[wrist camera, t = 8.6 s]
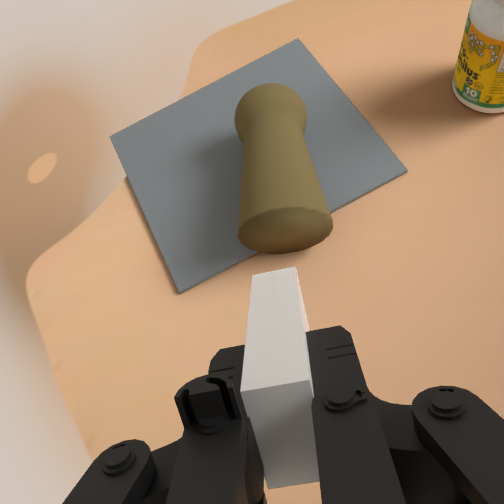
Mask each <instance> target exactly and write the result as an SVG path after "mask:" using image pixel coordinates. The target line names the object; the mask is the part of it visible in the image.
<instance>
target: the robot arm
mask: <svg viewBox="0 0 504 504" xmlns="http://www.w3.org/2000/svg"><path fill="white" fill-rule="evenodd" d="M208 372H209V374H208V375H205V376H201V377H198V378H195V379H193V380H191V381H190V382H188V383H186V384H185V385H184V386H183V387H181V388H180V389H179V390H178V392H177V393H176V395H175V397H174V399H175V402H176V405H177V408H178V411H179V414H180V417H181V420H182V422H183V425H184V432H183V436H182V438H180V439H179V440H177V441H175V442H173V443H171V444H169V445H166V446H164V447H162V448H159V449H157V450H154V451H152V452H151V451H150V448H149V446H148V445H147V444H146V443H145V442H144V441H140V440H136V439H134V440H126V441H122V442H120V443H117V444H115V445H112V446H111V447H109V448H108V449H106V450H105V451H103V452H102V453H101V454H100V455H99V456H98V457H97V458H96V459H95V460H94V461H93V463H92V464H91V466H90V467H89V468H88V470H87V471H86V472H85V474H84V475H83V476H82V478H81V479H80V480H79V482H78V483H77V484H76V486H75V487H74V489H73V490H72V491H71V493H70V494H69V495H68V497H67V498H66V499H65V501H64V502H63V504H267V500H266V497H265V494H264V490H263V488H264V476H265V480H266V483H267V487H268V489H272V488H279V487H286V486H292V485H299V484H306V483H312V482H319V481H320V489H321V498H322V504H504V419H502V418H501V417H500V416H499V415H498V414H497V413H496V412H495V411H493V410H492V409H491V408H490V407H489V406H488V405H487V404H486V403H484V402H483V401H482V400H481V399H480V398H479V397H478V396H476V395H475V394H473V393H471V392H470V391H468V390H466V389H462V388H458V387H455V386H438V387H432V388H428V389H426V390H424V391H422V392H420V393H419V394H418V395H417V396H416V397H415V398H414V400H413V402H412V405H400V404H393V403H388V402H385V401H382V400H380V399H378V398H377V397H375V396H374V395H373V394H372V393H371V392H370V391H369V389H368V388H367V385H366V382H365V379H364V375H363V372H362V369H361V366H360V362H359V359H358V356H357V353H356V350H355V346H354V343H353V340H352V337H351V333H349V332H348V331H347V330H346V329H344V328H343V327H342V326H335V327H330V328H324V329H319V330H313V331H310V330H309V325H308V321H307V316H306V312H305V307H304V303H303V298H302V294H301V289H300V285H299V280H298V276H297V271H296V267H290V268H285V269H280V270H275V271H270V272H265V273H260V274H255V275H252V285H251V295H250V304H249V314H248V323H247V333H246V342H245V345H240V346H235V347H229V348H224V349H220V350H219V351H218V352H217V354H216V355H215V356H214V357H213V358H212V360H211V362H210V367H209V371H208Z"/></svg>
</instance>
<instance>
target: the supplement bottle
mask: <svg viewBox="0 0 504 504" xmlns="http://www.w3.org/2000/svg"><path fill="white" fill-rule="evenodd" d="M452 85H453V91H454V93H455V95H456V97H457V98H458V99H459V101H461V102H462V103H463V104H465V105H466V106H468V107H469V108H471V109H473V110H476V111H479V112H484V113H500V112H504V0H472V3H471V6H470V9H469V14H468V18H467V22H466V26H465V30H464V35H463V39H462V43H461V47H460V51H459V55H458V60H457V64H456V68H455V72H454V76H453V81H452Z"/></svg>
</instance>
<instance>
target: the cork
mask: <svg viewBox="0 0 504 504" xmlns="http://www.w3.org/2000/svg"><path fill="white" fill-rule="evenodd" d="M234 123H235V128H236V131H237V134H238V136H239V139H240V140H241V141H242V142H243V143H244V147H243V162H242V178H241V193H240V208H239V223H238V238H239V240H240V242H241V244H243V245H244V246H245V247H247V248H248V249H251V250H254V251H257V252H262V253H270V254H277V253H290V252H296V251H300V250H303V249H306V248H310V247H312V246H314V245H316V244H318V243H320V242H322V241H323V240H324V239H325V238H326V237H327V236H329V235H330V233H331V231H332V229H333V221H332V218H331V215H330V212H329V209H328V206H327V203H326V200H325V197H324V194H323V192H322V189H321V186H320V183H319V180H318V177H317V174H316V171H315V168H314V165H313V162H312V159H311V157H310V154H309V151H308V148H307V145H306V142H305V139H304V136H303V134H304V132H305V129H306V125H307V114H306V108H305V104H304V102H303V100H302V99H301V97H300V96H299V94H298V93H296V92H295V91H294V90H292V89H291V88H289V87H288V86H285V85H282V84H279V83H267V84H262V85H258V86H256V87H254V88H252V89H250V90H249V91H248V92H247V93H246V94H244V95H243V97H242V98H241V99H240V101H239V103H238V104H237V106H236V110H235V117H234Z"/></svg>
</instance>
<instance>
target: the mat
mask: <svg viewBox="0 0 504 504" xmlns="http://www.w3.org/2000/svg"><path fill="white" fill-rule="evenodd" d="M267 83H279V84H282V85H285V86H288V87H289V88H291V89H292V90H294V91H295V92H296V93H298V94H299V96H300V97H301V99H302V100H303V102H304V104H305V108H306V114H307V125H306V129H305V132H304V134H303V136H304V139H305V142H306V145H307V148H308V151H309V154H310V157H311V159H312V162H313V165H314V168H315V171H316V174H317V177H318V180H319V183H320V186H321V189H322V192H323V194H324V197H325V200H326V203H327V206H328V209H329V212H330V213H332V212H334V211H336V210H338V209H340V208H341V207H343V206H345V205H347V204H349V203H351V202H353V201H354V200H356V199H358V198H360V197H362V196H364V195H366V194H367V193H369V192H371V191H373V190H375V189H377V188H379V187H380V186H382V185H384V184H386V183H388V182H390V181H392V180H394V179H395V178H397V177H399V176H401V175H403V174H405V173H407V169H406V167H405V166H404V165H403V164H402V163H401V161H400V160H399V159H398V158H397V157H396V155H395V154H394V153H393V152H392V151H391V149H390V148H389V147H388V146H387V145H386V143H385V142H384V141H383V140H382V139H381V137H380V136H379V135H378V134H377V133H376V131H375V130H374V129H373V128H372V127H371V125H370V124H369V123H368V122H367V121H366V119H365V118H364V117H363V116H362V114H361V113H360V112H359V111H358V110H357V108H356V107H355V106H354V105H353V104H352V102H351V101H350V100H349V99H348V98H347V96H346V95H345V94H344V93H343V92H342V90H341V89H340V88H339V87H338V86H337V84H336V83H335V82H334V81H333V80H332V78H331V77H330V76H329V75H328V74H327V72H326V71H325V70H324V69H323V68H322V66H321V65H320V64H319V63H318V62H317V60H316V59H315V58H314V57H313V55H312V54H311V53H310V52H309V51H308V49H307V48H306V47H305V46H304V45H303V43H302V42H301V41H300V40H299V39H298V38H297V39H295V40H293V41H292V42H290V43H288V44H286V45H284V46H282V47H280V48H278V49H276V50H274V51H272V52H270V53H269V54H267V55H265V56H263V57H261V58H259V59H257V60H255V61H253V62H251V63H249V64H248V65H246V66H244V67H242V68H240V69H238V70H236V71H234V72H232V73H230V74H228V75H226V76H225V77H223V78H221V79H219V80H217V81H215V82H213V83H211V84H209V85H207V86H205V87H203V88H202V89H200V90H198V91H196V92H194V93H192V94H190V95H188V96H186V97H184V98H182V99H181V100H179V101H177V102H175V103H173V104H171V105H169V106H168V107H165V108H163V109H161V110H160V111H158V112H156V113H154V114H152V115H150V116H148V117H146V118H144V119H142V120H140V121H138V122H137V123H135V124H133V125H131V126H129V127H127V128H125V129H123V130H121V131H120V132H118V133H115V134H114V135H112V136H110V139H111V141H112V143H113V146H114V148H115V150H116V152H117V154H118V157H119V159H120V161H121V163H122V166H123V168H124V170H125V172H126V175H127V177H128V179H129V181H130V184H131V186H132V188H133V190H134V193H135V195H136V197H137V199H138V202H139V204H140V206H141V208H142V211H143V213H144V215H145V217H146V220H147V222H148V224H149V226H150V229H151V231H152V233H153V235H154V238H155V240H156V242H157V244H158V247H159V249H160V251H161V253H162V256H163V258H164V260H165V262H166V264H167V267H168V269H169V271H170V273H171V276H172V278H173V280H174V282H175V285H176V287H177V289H178V291H179V293H180V294H181V293H183V292H185V291H187V290H189V289H190V288H192V287H194V286H196V285H198V284H200V283H202V282H203V281H205V280H207V279H209V278H211V277H213V276H215V275H217V274H218V273H220V272H222V271H224V270H226V269H228V268H230V267H231V266H233V265H235V264H237V263H239V262H241V261H243V260H244V259H246V258H248V257H250V256H252V255H254V254H256V253H258V252H257V251H254V250H251V249H248V248H247V247H245V246H244V245H243V244H241V242H240V240H239V238H238V223H239V208H240V193H241V178H242V162H243V147H244V143H243V142H242V141H241V140H240V139H239V136H238V134H237V131H236V128H235V123H234V117H235V110H236V106H237V104H238V103H239V101H240V99H241V98H242V97H243V95H244V94H246V93H247V92H248V91H249V90H250V89H252V88H254V87H256V86H258V85H262V84H267Z"/></svg>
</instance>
